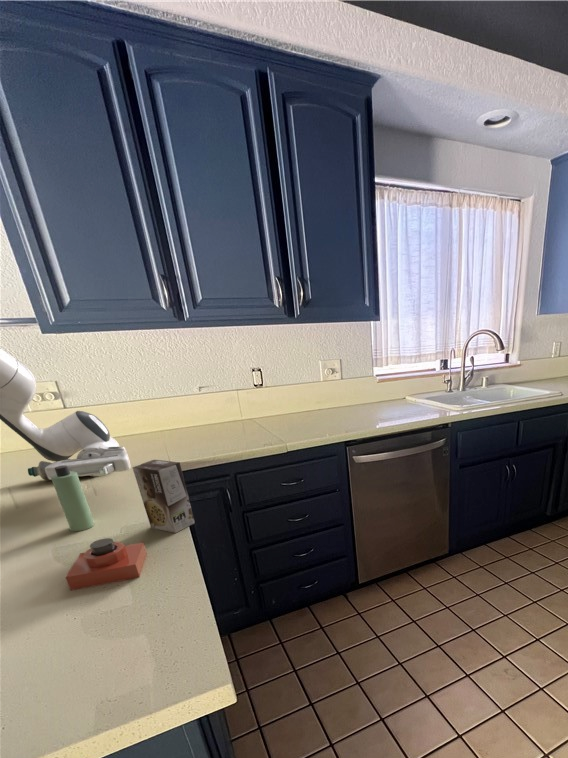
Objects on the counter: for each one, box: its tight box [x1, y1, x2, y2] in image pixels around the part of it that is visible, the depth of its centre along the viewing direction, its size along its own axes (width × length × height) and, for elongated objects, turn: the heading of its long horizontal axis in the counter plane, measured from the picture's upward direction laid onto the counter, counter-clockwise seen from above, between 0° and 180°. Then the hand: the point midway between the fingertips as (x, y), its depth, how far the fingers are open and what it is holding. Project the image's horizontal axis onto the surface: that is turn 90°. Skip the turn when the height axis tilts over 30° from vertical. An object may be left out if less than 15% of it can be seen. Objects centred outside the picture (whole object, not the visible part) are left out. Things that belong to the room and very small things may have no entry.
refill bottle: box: [51, 465, 96, 532], centre depth 105 cm, size 5×5×16 cm
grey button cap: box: [89, 537, 116, 556], centre depth 86 cm, size 4×4×2 cm
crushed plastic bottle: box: [27, 458, 71, 481], centre depth 146 cm, size 13×7×25 cm
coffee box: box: [131, 459, 196, 534], centre depth 104 cm, size 9×6×16 cm
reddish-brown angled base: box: [65, 541, 148, 591], centre depth 87 cm, size 12×10×5 cm
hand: (82, 474), depth 115 cm, fingers open, 8 cm apart
